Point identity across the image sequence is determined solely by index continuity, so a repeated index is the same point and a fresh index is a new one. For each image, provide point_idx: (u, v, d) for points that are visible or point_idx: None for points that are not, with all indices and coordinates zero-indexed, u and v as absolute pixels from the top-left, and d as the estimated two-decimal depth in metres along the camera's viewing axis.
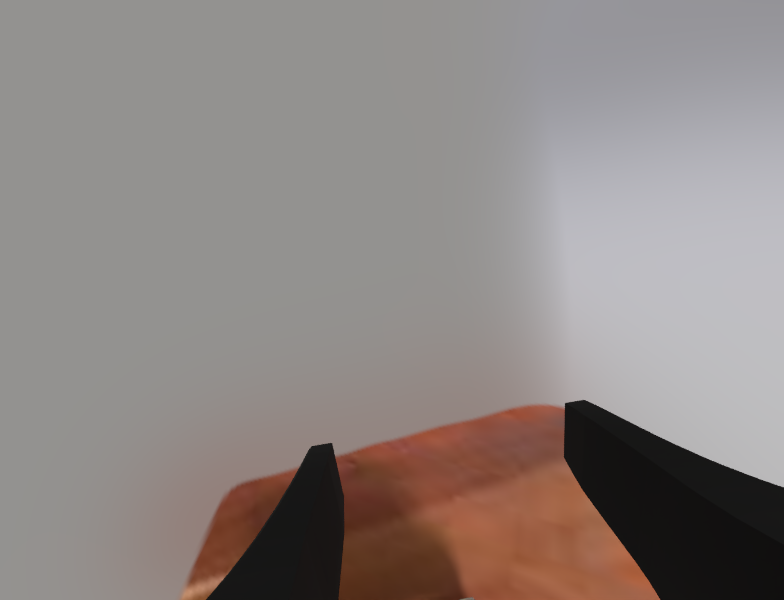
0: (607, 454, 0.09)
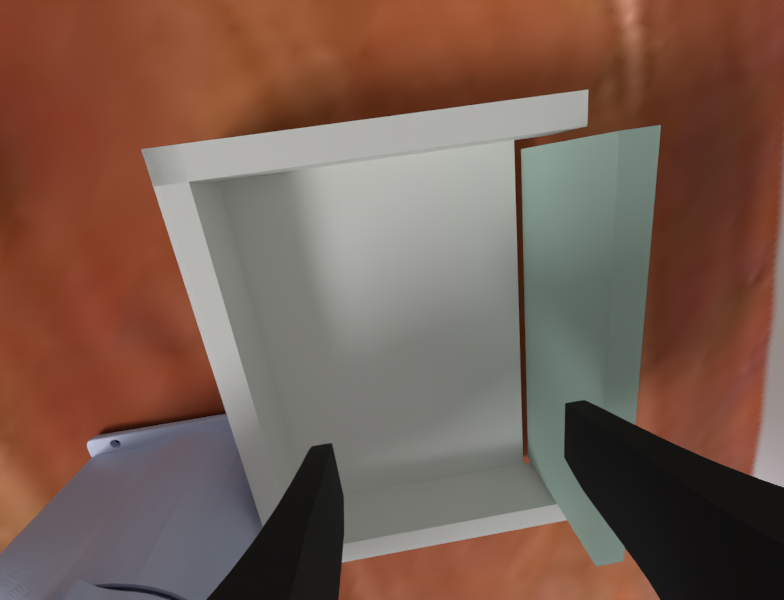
0: (606, 454, 0.09)
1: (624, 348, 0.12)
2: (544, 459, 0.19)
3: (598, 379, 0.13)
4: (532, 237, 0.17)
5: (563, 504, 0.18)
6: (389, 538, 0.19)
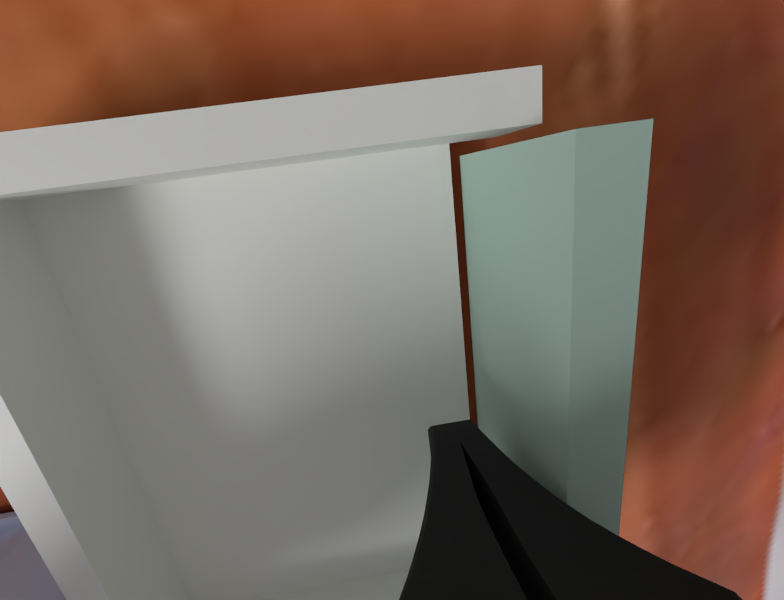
0: (471, 478, 0.09)
1: (594, 483, 0.08)
2: None
3: None
4: (476, 279, 0.12)
5: None
6: None
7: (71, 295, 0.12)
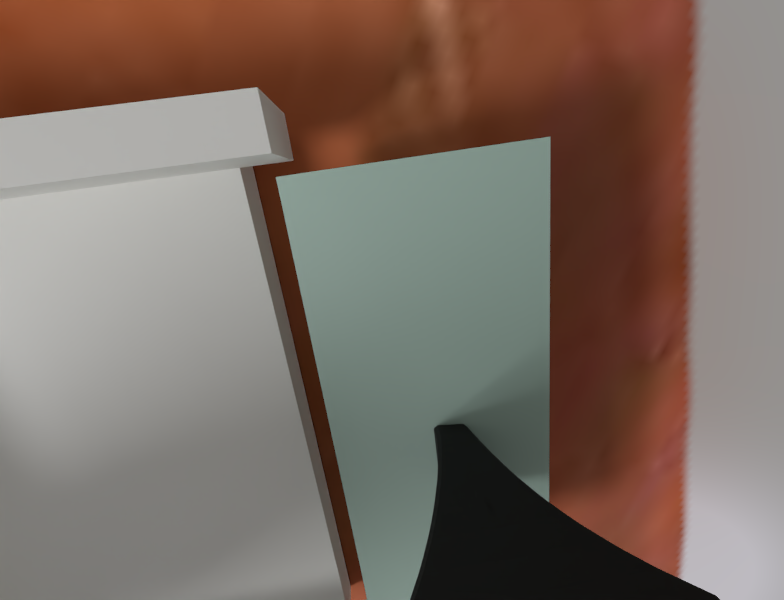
0: None
1: None
2: None
3: (533, 448, 0.11)
4: (338, 313, 0.10)
5: None
6: None
7: None
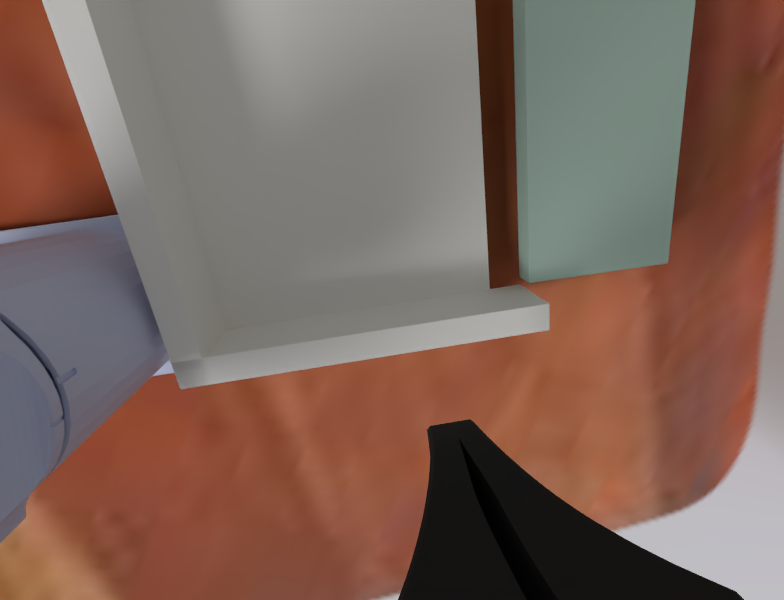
0: (472, 478, 0.09)
1: None
2: (573, 242, 0.17)
3: (679, 46, 0.15)
4: None
5: (614, 257, 0.17)
6: (317, 345, 0.15)
7: None
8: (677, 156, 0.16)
